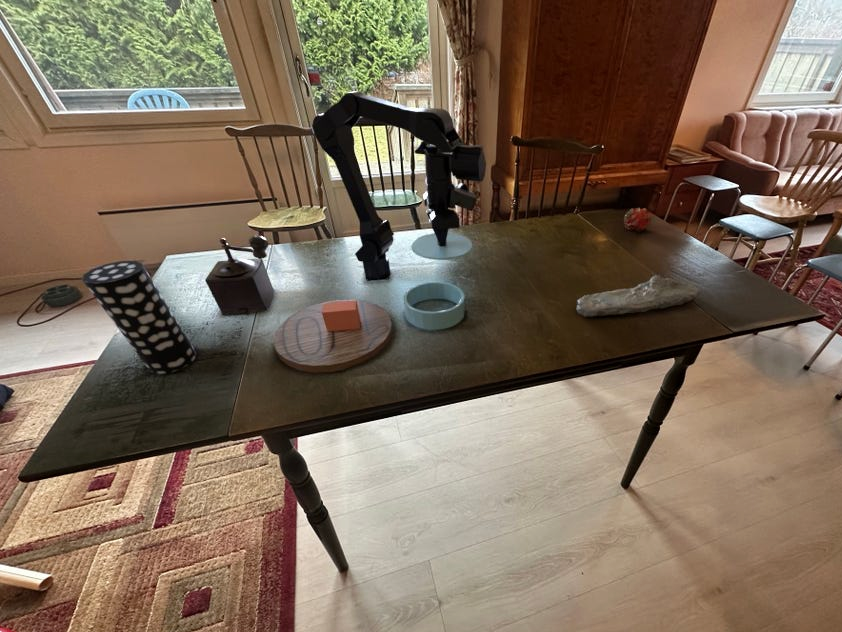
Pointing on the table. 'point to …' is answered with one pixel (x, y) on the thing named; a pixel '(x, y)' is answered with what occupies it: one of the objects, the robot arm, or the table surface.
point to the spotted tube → (141, 315)
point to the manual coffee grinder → (241, 280)
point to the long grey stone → (637, 298)
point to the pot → (440, 317)
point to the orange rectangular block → (341, 315)
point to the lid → (441, 247)
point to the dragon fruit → (637, 219)
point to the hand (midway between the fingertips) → (441, 243)
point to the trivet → (331, 339)
